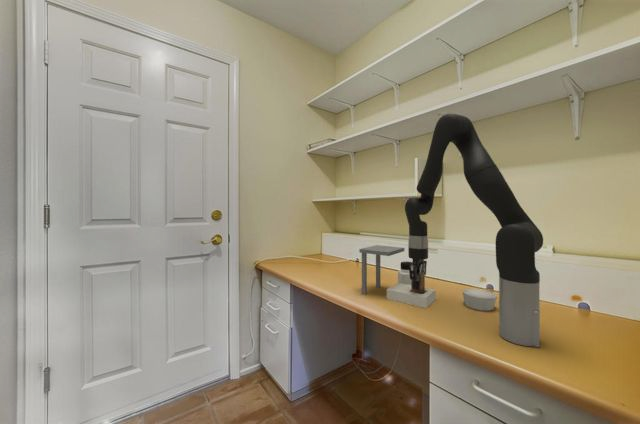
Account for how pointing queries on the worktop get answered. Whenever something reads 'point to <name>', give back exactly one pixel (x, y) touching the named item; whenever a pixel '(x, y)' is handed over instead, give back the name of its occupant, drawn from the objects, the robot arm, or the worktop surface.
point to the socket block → (411, 295)
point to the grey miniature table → (378, 251)
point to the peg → (421, 284)
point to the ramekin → (479, 299)
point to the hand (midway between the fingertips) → (418, 287)
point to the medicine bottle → (404, 273)
